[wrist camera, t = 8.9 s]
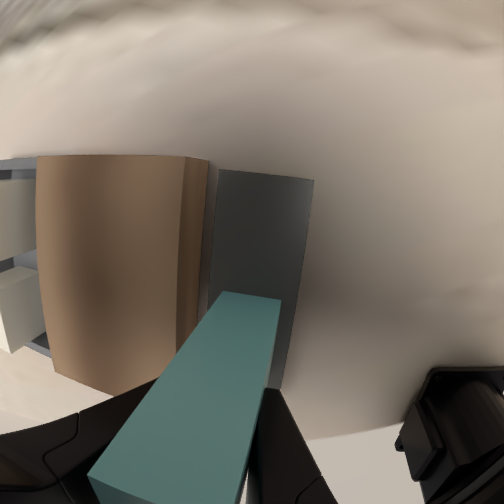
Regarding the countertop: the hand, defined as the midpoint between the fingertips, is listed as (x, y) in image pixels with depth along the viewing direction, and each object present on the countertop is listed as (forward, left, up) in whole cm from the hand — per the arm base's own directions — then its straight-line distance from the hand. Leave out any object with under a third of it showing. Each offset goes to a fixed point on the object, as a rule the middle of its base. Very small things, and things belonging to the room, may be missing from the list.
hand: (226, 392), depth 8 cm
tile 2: (+14, +3, -5) cm, 15 cm away
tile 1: (+13, -3, -5) cm, 14 cm away
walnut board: (+7, 0, -7) cm, 10 cm away
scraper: (0, 0, -5) cm, 5 cm away
